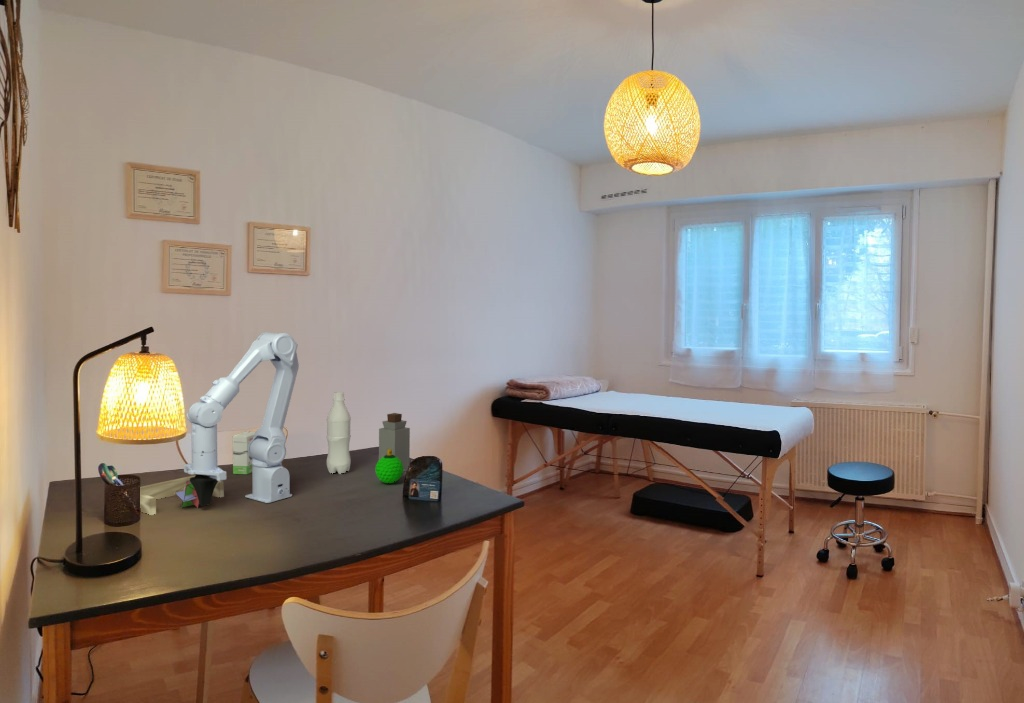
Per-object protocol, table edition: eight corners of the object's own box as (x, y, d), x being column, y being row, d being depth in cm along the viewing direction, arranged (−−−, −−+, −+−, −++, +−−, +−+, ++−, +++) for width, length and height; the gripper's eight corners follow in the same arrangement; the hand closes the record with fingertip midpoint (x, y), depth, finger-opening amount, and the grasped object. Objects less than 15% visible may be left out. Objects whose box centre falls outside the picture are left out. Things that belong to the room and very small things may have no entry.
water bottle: (326, 470, 198) (326, 391, 196) (349, 469, 200) (350, 390, 198) (326, 476, 191) (326, 394, 189) (351, 474, 193) (351, 393, 191)
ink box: (247, 474, 191) (247, 436, 190) (232, 474, 191) (231, 435, 190) (262, 468, 199) (261, 431, 198) (247, 467, 200) (247, 430, 199)
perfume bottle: (409, 469, 200) (409, 413, 199) (394, 474, 195) (395, 416, 194) (393, 466, 204) (393, 411, 203) (378, 471, 198) (379, 414, 197)
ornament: (390, 488, 179) (390, 453, 178) (369, 484, 183) (369, 450, 182) (409, 482, 186) (409, 448, 185) (388, 478, 190) (388, 445, 189)
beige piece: (223, 496, 168) (223, 481, 168) (151, 515, 152) (150, 499, 151) (196, 488, 175) (195, 474, 174) (123, 506, 158) (123, 490, 158)
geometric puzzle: (217, 498, 159) (206, 470, 161) (191, 505, 153) (179, 476, 155) (204, 511, 162) (193, 483, 164) (178, 518, 156) (167, 489, 159)
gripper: (171, 449, 156) (172, 503, 157) (207, 457, 148) (207, 514, 149) (198, 444, 162) (199, 496, 163) (234, 452, 154) (234, 506, 155)
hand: (205, 504), depth 156 cm, fingers closed
